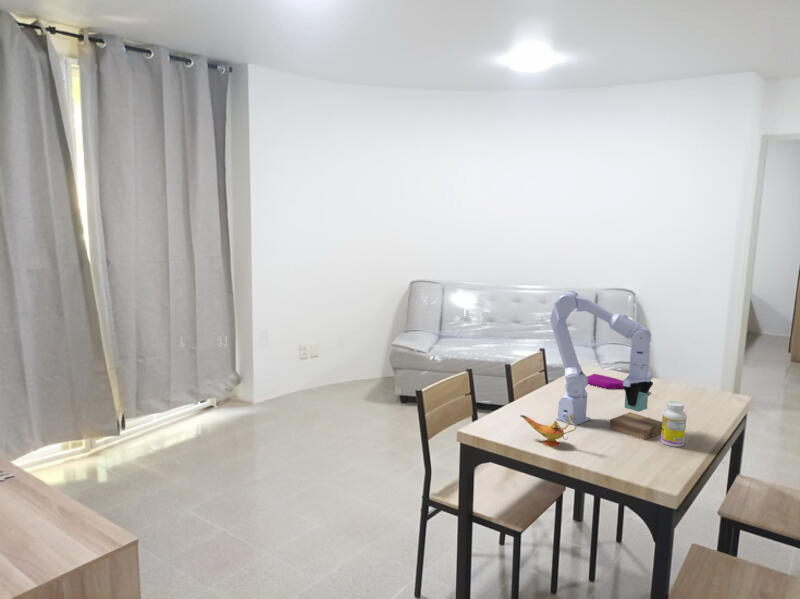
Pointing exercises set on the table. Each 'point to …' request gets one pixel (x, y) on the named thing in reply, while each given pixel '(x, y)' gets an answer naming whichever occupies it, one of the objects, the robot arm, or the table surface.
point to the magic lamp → (549, 431)
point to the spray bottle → (605, 382)
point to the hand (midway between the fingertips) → (636, 403)
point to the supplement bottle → (674, 424)
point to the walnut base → (636, 425)
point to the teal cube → (638, 402)
